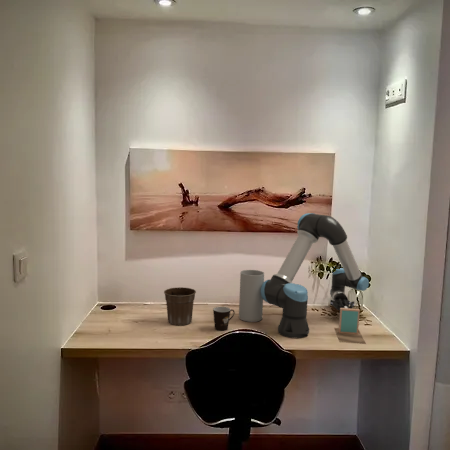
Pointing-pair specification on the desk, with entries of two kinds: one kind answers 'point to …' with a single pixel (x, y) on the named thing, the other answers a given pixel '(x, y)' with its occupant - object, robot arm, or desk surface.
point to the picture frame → (349, 320)
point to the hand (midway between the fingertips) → (347, 312)
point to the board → (350, 337)
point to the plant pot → (179, 305)
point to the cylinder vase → (251, 295)
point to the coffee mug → (222, 318)
